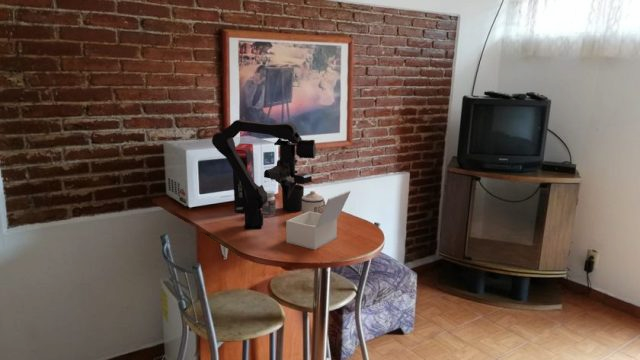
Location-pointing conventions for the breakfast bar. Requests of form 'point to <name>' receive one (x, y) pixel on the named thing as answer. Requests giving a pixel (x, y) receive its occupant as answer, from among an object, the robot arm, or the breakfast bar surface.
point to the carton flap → (333, 208)
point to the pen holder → (293, 199)
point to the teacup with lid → (312, 203)
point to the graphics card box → (239, 193)
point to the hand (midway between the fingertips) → (287, 198)
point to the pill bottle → (269, 205)
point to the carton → (310, 231)
